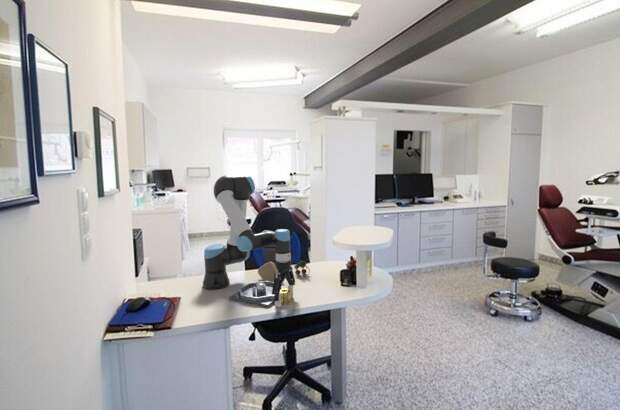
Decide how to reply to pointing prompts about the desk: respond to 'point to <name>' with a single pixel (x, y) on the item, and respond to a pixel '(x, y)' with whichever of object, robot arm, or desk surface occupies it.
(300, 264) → the binoculars
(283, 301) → the planet gear
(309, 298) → the desk surface
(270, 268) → the brown rounded piece
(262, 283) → the tray
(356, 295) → the desk surface
